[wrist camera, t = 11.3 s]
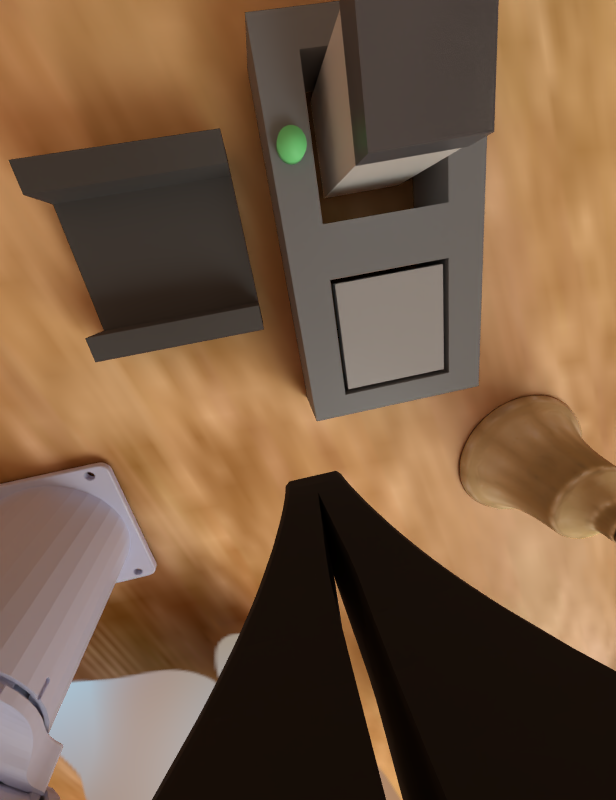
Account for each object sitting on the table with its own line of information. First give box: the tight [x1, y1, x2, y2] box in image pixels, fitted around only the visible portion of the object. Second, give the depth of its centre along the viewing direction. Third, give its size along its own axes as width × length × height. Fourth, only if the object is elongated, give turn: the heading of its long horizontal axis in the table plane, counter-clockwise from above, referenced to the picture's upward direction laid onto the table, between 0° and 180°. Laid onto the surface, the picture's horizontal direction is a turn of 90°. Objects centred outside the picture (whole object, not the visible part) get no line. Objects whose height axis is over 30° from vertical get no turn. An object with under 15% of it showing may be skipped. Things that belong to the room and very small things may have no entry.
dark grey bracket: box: [9, 128, 264, 362], centre depth 14 cm, size 7×7×2 cm
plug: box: [310, 0, 499, 198], centre depth 11 cm, size 4×4×6 cm
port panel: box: [245, 1, 487, 421], centre depth 14 cm, size 8×14×3 cm, turn 9°
